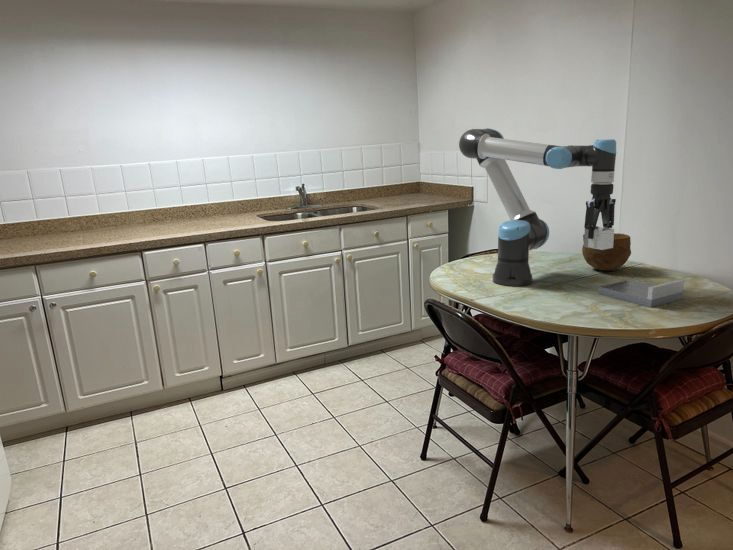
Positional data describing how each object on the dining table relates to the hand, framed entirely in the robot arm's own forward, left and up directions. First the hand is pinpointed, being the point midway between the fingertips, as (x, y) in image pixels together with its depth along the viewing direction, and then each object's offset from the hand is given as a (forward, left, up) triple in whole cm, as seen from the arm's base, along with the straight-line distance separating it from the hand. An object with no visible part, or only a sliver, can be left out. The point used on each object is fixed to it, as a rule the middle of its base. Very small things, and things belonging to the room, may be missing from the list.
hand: (597, 246), depth 201 cm
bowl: (+23, +14, -15) cm, 31 cm away
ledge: (0, -18, -15) cm, 24 cm away
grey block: (0, 0, 0) cm, 1 cm away
